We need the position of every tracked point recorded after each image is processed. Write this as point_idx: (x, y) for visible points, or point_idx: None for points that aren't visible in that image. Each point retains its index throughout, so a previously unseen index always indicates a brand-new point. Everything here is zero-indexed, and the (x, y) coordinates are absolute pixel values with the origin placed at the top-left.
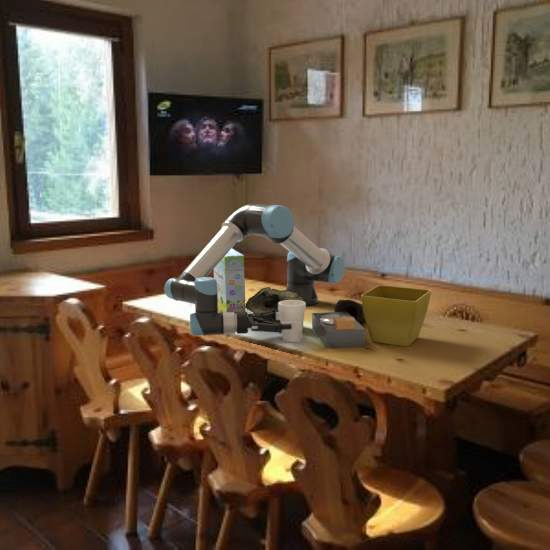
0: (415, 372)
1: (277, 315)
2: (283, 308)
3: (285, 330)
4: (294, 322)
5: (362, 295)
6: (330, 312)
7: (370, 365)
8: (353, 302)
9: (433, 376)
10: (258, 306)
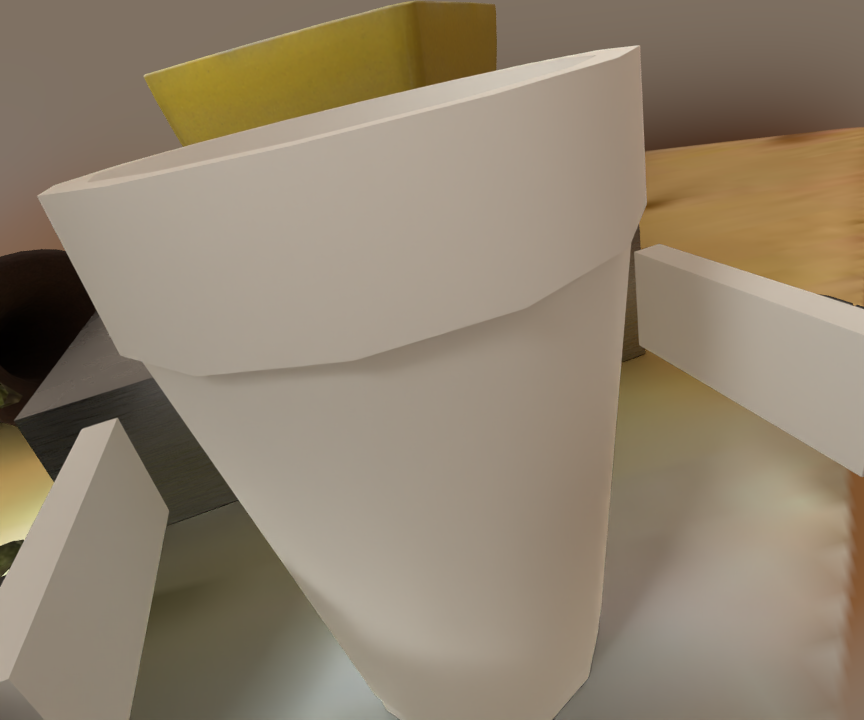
0: (765, 166)
1: (62, 696)
2: (631, 140)
3: (602, 544)
4: (720, 269)
5: (405, 2)
6: (73, 345)
7: (801, 212)
8: (40, 256)
9: (767, 152)
10: None
